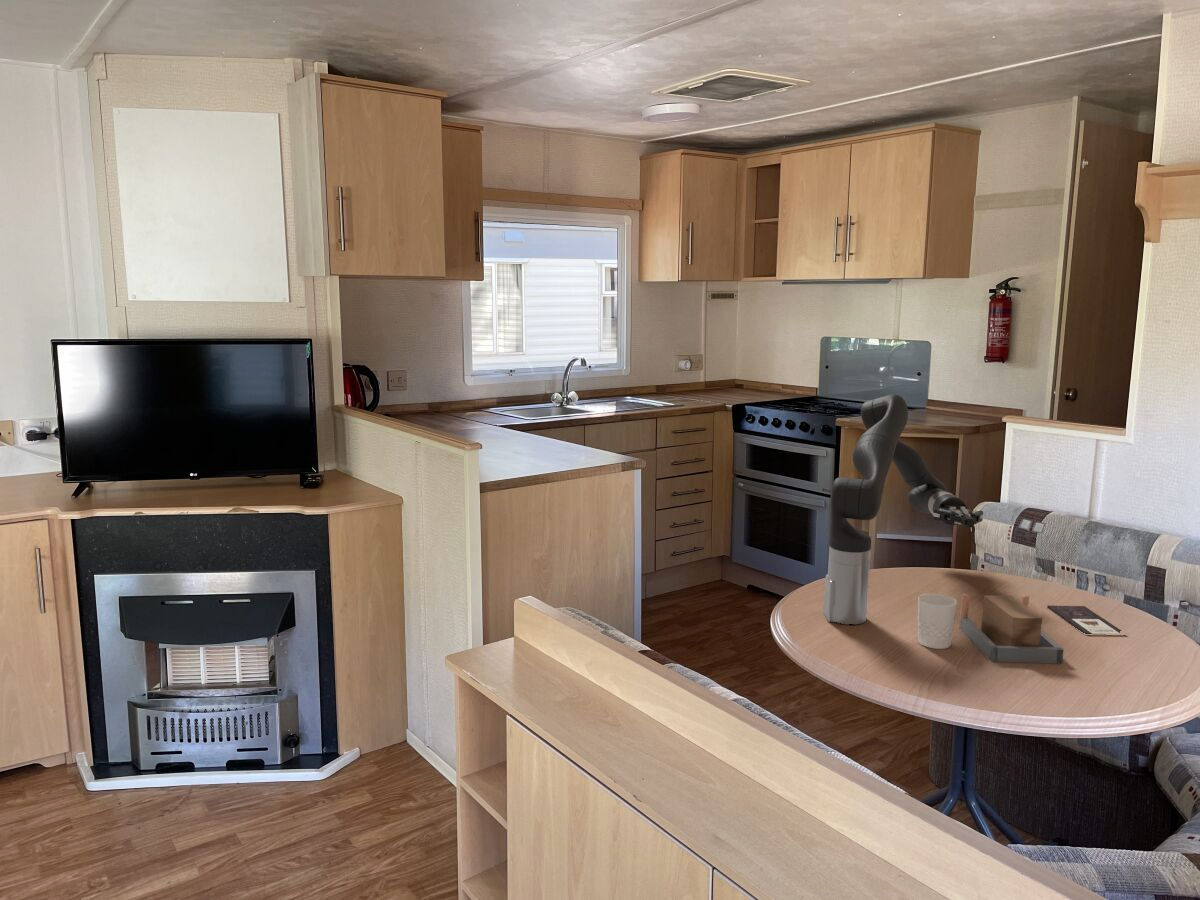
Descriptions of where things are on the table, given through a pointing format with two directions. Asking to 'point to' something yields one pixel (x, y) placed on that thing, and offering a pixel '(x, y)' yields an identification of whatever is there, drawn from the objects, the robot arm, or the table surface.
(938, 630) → the white cup
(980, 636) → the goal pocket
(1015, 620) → the walnut block
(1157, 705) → the table surface
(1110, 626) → the chocolate bar
